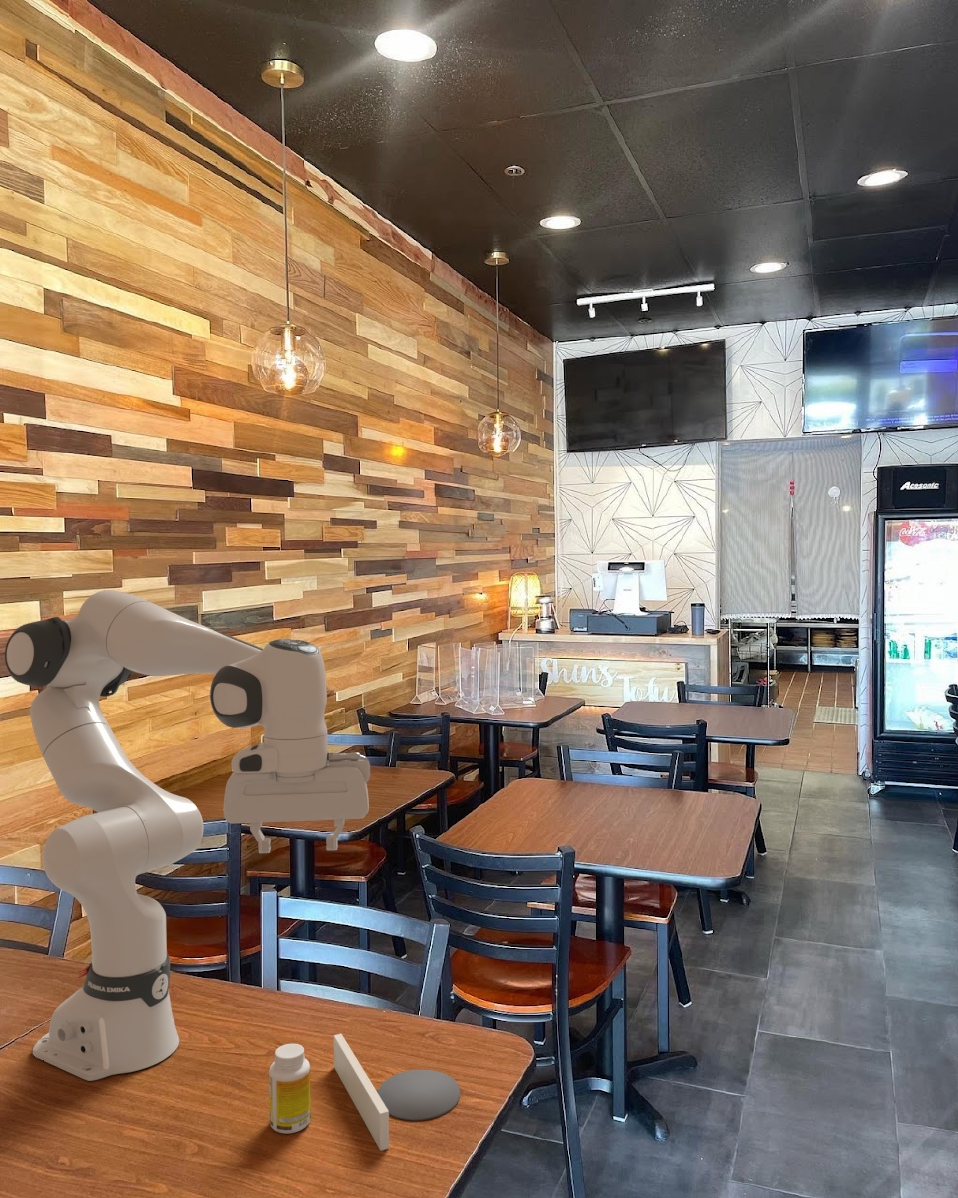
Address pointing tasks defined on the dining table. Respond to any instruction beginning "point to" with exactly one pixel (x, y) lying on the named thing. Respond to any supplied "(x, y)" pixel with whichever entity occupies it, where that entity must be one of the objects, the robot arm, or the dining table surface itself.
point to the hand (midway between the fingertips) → (298, 850)
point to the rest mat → (419, 1094)
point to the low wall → (362, 1092)
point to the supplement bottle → (289, 1090)
